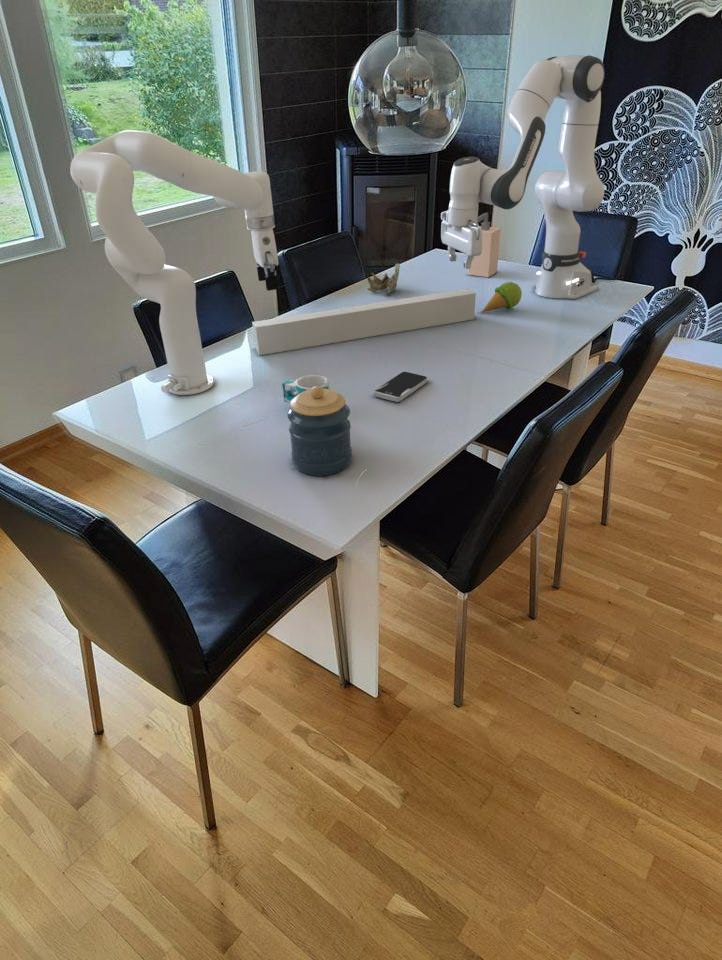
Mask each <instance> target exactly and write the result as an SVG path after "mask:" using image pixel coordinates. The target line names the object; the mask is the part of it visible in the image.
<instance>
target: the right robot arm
mask: <svg viewBox="0 0 722 960" xmlns="http://www.w3.org/2000/svg"><path fill="white" fill-rule="evenodd" d="M605 75H606V69H605V65H604V63H603V60H602V59H600V58H599V57H597V56H594V55H590V54H589V55H583V54H582V55H580V54H569V55H561V56H551V57H548V58H546V59H539V60H538V61H536V62H535V63H534V64H533V65H532V66H531V68H530V69H529V70H528V72H527V73H526V74H525V76H524V77H523V79H522V80H521V82H520V84H519V86H518V87H517V89H516V91H515V93H514V94H513V96H512V98H511V100H510V102H509V104H508V109H507V119H508V122H509V124H510V126H511V127H512V129H513V130H514V131H515V132H516V133H517V134H519V136H520V142H519V144H518V146H517V147H518V148H517V150H516V152H515V154H514V157H513V160H512V163H511V164H510V166H509V167H508V168H506V169H505V170H503V169H498V168H494V167H491V166H488V165H486V164H484V163H483V162H482V161H481V160H480V158H479V157H476V156H464V157H461V158H459V159H457V160H455V161H454V162H453V165H452V168H451V172H450V178H449V195H450V196H449V197H450V200H449V204H448V209H447V210H445V211H442V212H441V213H440V220H441V225H440V239H441V242H442V244H443V245H446V246H447V251H448V260H449V261H450V262H453V263H454V262H457V254H456V250H457V251H459V252H461V253H463V254H465V261H463V268H464V269H466V270H468V269H470V268H471V262H472V260H473V258H474V256H479V255H480V254H481V253H482V231H481V229H480V228H479V226H480V225H479V222H477V220H478V216H479V203H483V204H487V205H491V206H495V207H498V208H500V209H503V210H512V209H513V208H515V207H516V206H518V205H519V204H520V202H521V201H522V199H523V198H524V195H525V193H526V188H527V184H528V180H529V177H530V175H531V172H532V170H533V166H534V165H535V161H536V159H537V156H538V154H539V152H540V149H541V147H542V144H543V141H544V138H545V134H546V123H545V122H546V121H545V120H546V117H547V115H548V113H549V111H550V109H551V107H552V105H553V102H554V100H555V99H562V100H564V102H565V107H564V110H563V115H562V121H561V126H560V132H559V138H558V146H557V152H558V155H560V157H561V158H562V160H563V164H564V167H565V168H564V169H565V170H559V169H558V170H557V169H556V170H549V171H545V172H543V173H542V174H541V175H540V176H538V178H537V181H536V182H535V186H534V194H535V197H536V199H537V201H538V202H539V204H540V205H541V207H542V211H543V215H544V221H545V230H546V231H545V241H544V250H543V251H542V255H541V262H542V264H541V265H540V269H539V271H537V272H536V275H538V279H537V282H536V283H535V290H534V292H535V294H536V295H538V296H541V297H545V298H550V299H569V300H571V299H572V300H577V299H579V298H582V297H584V296H586V295H589V294H590V293H593V292H595V291H597V290H598V286H597V285H596V284H595V283H596V281H597V280H600V281H601V280H602V281H616V280H618V279H619V278H620V277H623V273H622V272H621V271H620V272H618V273H617V276H615V277H605V276H596V277H595V275H594V270H593V269H589V268H587V267H586V266H585V265H584V264H583V263H582V262H581V259H585V258H586V257H587V252H586V251H582V250H581V251H579V247H580V238H581V227H580V226H581V225H580V224H579V222H578V221H577V220H576V218H575V216H574V215H575V214H574V212H578V213H581V212H582V213H585V212H592V211H595V210H596V209H598V208H599V206H600V205H601V203H602V202H603V199H604V197H605V185H604V183H603V181H602V180H601V178H600V176H599V175H598V172H597V168H596V162H595V148H596V141H597V135H598V130H599V123H600V116H601V106H602V91H601V89H602V87H603V85H604V82H605V81H604V80H605V77H606V76H605Z"/></svg>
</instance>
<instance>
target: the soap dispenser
mask: <svg viewBox="0 0 722 960" xmlns="http://www.w3.org/2000/svg"><path fill="white" fill-rule="evenodd" d="M480 222H481V223H480ZM477 223H480V224H481V225H479V228H480V229H481V231H482V253H481V254H480V255H479V256H474V258H473V260H472V262H471V268H470V269H467V275H468V276H476V277H482V278H483V277H484V278H490V277H491V276H493V275H494V274H496V273H497V272H498V266H499V265H498V264H499V263H498V262H499V250H500V239H501V238H500V237H501V228H500V227H493V226H491V222H490V221H489V213H488V212H485V213H482V214H481V215H478V220H477Z"/></svg>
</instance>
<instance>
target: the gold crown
mask: <svg viewBox="0 0 722 960" xmlns="http://www.w3.org/2000/svg"><path fill="white" fill-rule="evenodd" d="M400 265H401V264H400V263H395V265H394V271H393V274H392V275H391V276H390V277H389V276H388V273H384V275H383V277H382V279H380V278H379V277H377V275H375V274H374V272H370V274H371V275H372V276H373V279H372V278H371V276H368V278H367V282H368V284H369V288H367V291H370V292H372V293H376V292H378V291H383V290H387V295H388V296H389V295H390V294H391V293H392V292H393V291H395V289H396V288H397V286H398V279H399V274H400Z"/></svg>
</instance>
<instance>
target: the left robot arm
mask: <svg viewBox="0 0 722 960" xmlns="http://www.w3.org/2000/svg"><path fill="white" fill-rule="evenodd" d="M69 169H70V170H69V171H70V176H71V179H72V181H73V182H74V184H75V185H76V186H77V187H78V188H79V189H81V190H83V191H84V192H87V193H91V194H95V217H96V221H97V224H98V226H99V228H100V230H101V231H102V232H103V234H104V235H105V237H106V238H105V240H104V253H105V256H106V259H107V261H108V262H109V264H110V265H111V266H112V268H113V269H114V270H115V271H116V272H117V273H118V274H119V275H120V277H121V278H122V279H123V280H124V281H125V282H126V283H127V284H128V286H129V287H130V288H131V289H132V290H133V291H134V292H135V293H136V294H137V295H138V296H140V297H142V298H143V299H145V300H148V301H150V302H154V303H157V304H160V312H159V318H158V322H159V329H160V330H159V331H160V333H161V339H162V344H163V348H164V354H165V358H166V363H167V368H168V373H169V374H168V375H167V378H168V380H167V381H166V383H164V384H163V385H162V386H161V387H160V390H161V391H162V393H171V394H173V395H176V396H177V395H178V396H190V395H197V394H201V393H203V392H206V391H208V390H210V389H211V388H212V387H213V385H214V383H215V380H214V377H213V376H212V375H211V374H209V373H207V368H206V362H205V356H204V351H203V345H202V340H201V333H200V327H199V322H198V316H197V304H196V303H197V289H196V282H195V280H194V279H193V277H192V276H191V275H190V273H188V272H187V271H185V270H184V269H182V268H179V267H177V266H173V265H169V264H166V260H167V258H166V253H165V250H164V248H163V246H162V245H161V244H160V241H158V239H157V238H156V236H154V234H153V233H152V232H151V231H150V230H149V228H148V227H147V226H146V224H145V223H144V222H143V221H142V220H141V218H140V217H139V215H138V214H137V212H136V210H135V207H134V204H133V193H134V186H135V176H134V172H140V173H145V174H147V175H150V176H152V177H154V178H157V179H159V180H162V181H164V182H166V183H169V184H171V185H173V186H176V187H178V188H180V189H183V190H185V191H187V192H192V193H195V194H199V195H206V196H211V197H212V198H213V200H214V201H215V202H216V204H218V205H219V206H222V207H224V208H230V209H237V210H243V211H244V214H245V221H246V222H245V223H246V229H247V230H248V231H250V234H251V242H252V249H253V256H254V259H255V262H256V271H257V280H258V281H259V282H265V288H266V291H267V292H269V291H276V290H278V289H279V284H278V275H277V271H276V270H277V269H276V267H277V266H279V264H280V263H279V257H278V250H277V245H276V244H277V243H276V238H275V233H274V228H275V227H276V222H275V215H274V207H273V205H274V204H273V195H272V189H271V180H270V175H269V174H268V173H267V172H265V171H259V170H258V171H248V172H245V173H244V172H242V171H240V170H239V169H236V168H233V167H231V166H228V165H226V164H223V163H220V162H217V161H214V160H213V159H211V158H208V157H205V156H202V155H201V154H197V153H196V152H193V151H191V150H189V149H187V148H185V147H183V146H180V145H179V144H177V143H175V142H172V141H171V140H169V139H168V138H165V137H163V136H160V135H158V134H156V133H154V132H150V131H145V130H132V129H131V130H130V129H126V130H122V131H119V132H116V133H114V134H112V135H110V136H108V137H106V138H104V139H102V140H100V141H98V142H96V143H95V144H93V145H90V146H88V147H86V148H84V149H82V150H80V151H79V152H77V153H76V154H75V155H74V156H73V158H72V160H71V162H70V166H69Z"/></svg>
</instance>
